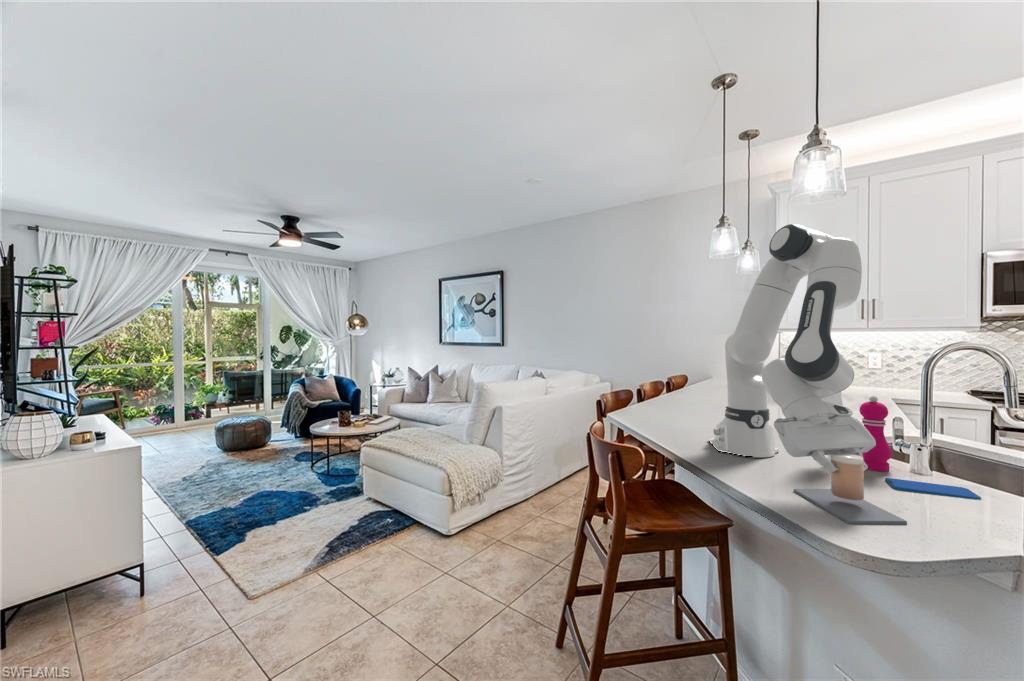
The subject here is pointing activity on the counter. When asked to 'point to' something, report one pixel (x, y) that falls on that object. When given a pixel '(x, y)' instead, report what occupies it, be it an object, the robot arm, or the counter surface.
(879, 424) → the pepper mill
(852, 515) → the slate mat
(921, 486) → the smartphone
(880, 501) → the counter surface
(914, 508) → the counter surface
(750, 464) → the counter surface
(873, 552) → the counter surface
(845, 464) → the terracotta jar
